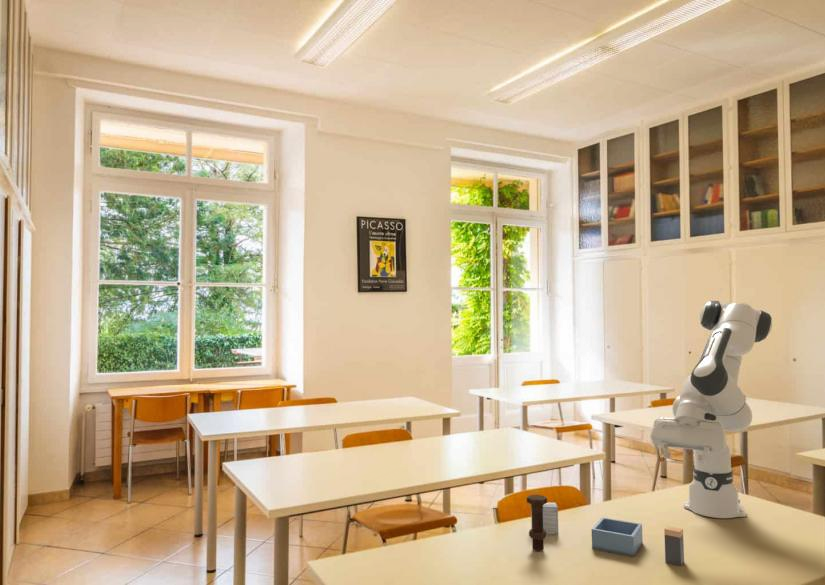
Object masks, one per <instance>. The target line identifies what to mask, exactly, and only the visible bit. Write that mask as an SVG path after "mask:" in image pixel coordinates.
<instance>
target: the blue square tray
mask: <svg viewBox="0 0 825 585" xmlns="http://www.w3.org/2000/svg"><path fill="white" fill-rule="evenodd" d="M643 541H644V540H643V523H638V522H635V521H634V522H633V521H627V520H620V519H615V518H609V517H601V518H600V519H599V520H598V521H597V523H596V524H594V526H593V527H592V528H591V549H592V550H595V549H597V550H596V551H600V550H602V551H601V552H606V551H607V553H612V554H617V555H622V556H627V557H631V558H635V556H636V554H637V553H638V552H639V550H640V548H641V546H642V545H643Z"/></svg>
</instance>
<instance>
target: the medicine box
mask: <svg viewBox="0 0 825 585" xmlns="http://www.w3.org/2000/svg"><path fill="white" fill-rule="evenodd" d="M558 508H559V507H558V505H557V503H556V502H550V501H549V502H548V501H547V503H546V504H544V505H543V529H544V530H545V531H546V533H547V535H552V534H558V535H559V534H560V533H559V509H558ZM530 518H531V520H530V521H531V526H530V527H532V509H531V508H530Z"/></svg>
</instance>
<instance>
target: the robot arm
mask: <svg viewBox="0 0 825 585" xmlns="http://www.w3.org/2000/svg"><path fill="white" fill-rule="evenodd" d="M772 319H773V318H772V316H771V314H770V313H768V312H766V311H765V310H761V309H760V310H759V309H756V308H753V307H752V306H751V305H749V304H748V303H744V302H734V303H728V302H722V301H720V300H709V301H707V302H705V304H704V305H703V306H702V308H701V310H700V313H699V322H700V325H701V326H702V327H703V328H704V329H707V330H709V331H712V332H711V334H710V335H709V337H708V339H707V342H706V344H705V346H704V349H703V351H702V354H701V356H700V358H699V361H698V362H697V364H696V365H695V366H694V368H693V370H691V374H690V375H688V376H687V378H686V379H685V380H684V382H683V385H682V386H681V391H680V394H679V395H678V396H676V398H675V399H674V401H673V403H672V414H673V416H674V418H672V417H669V418H667V417H659V418H656V419H655V420H654V421H653V428H652V430H651V432H650V440H651V442H652V444H653V445H655V446H660V447H662V450H663V453H662V456H663V459H667V460H668V459H669V460H670V459H671V451H670V450H668V448H675V449H677V448H678V449H685V450H692V451H693V458H694V459H693V460H694V467H693V470H692V475H693V481H691V482H690V483H689V485H688V489H689V490H688V501H686V502H685V503H684V504H683V508H684V509H686V510H689V511H691V512H693V513H695V514H698V515H700V516H705V517H707V518H708V517H709V518H714V519H715V518H716V519H732V518H740V517H741V518H742V517H747V513H746V511H745V509H744V507H743V505H742V504H741V499H739V490H738V489H737V487H736V486H735V485H734V474H733V471H732V464H731V463H732V461H731V460H732V459H731V458H732V456H731V449H730V447H729V445H728V444H727V439H726V438H727V437H726V434H725V432H742V431H745V430H747V429H748V428H749V427H750V425H751V424H752V422H753V414H752V413H753V412H752V409H751V408H750V406H749V405H748V403H747V402H746V401H747V400H746V396H745V394H744V393H743V390H742V389H741V388H740V387H739V385H738V382H739V381H738V380H739V374H740V369H741V366H742V365H741V364H742V359H743V356H744V355H746V354H748V353H749V352H751V351H752V350H753V348H754V344H755V343H760V342H761V341H763V340H765V339H767V337H768V336H769V335H770V333H771V331H772V328H773V320H772Z"/></svg>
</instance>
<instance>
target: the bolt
mask: <svg viewBox="0 0 825 585" xmlns="http://www.w3.org/2000/svg"><path fill="white" fill-rule="evenodd" d="M547 502H548V498H547V497H546V496H545V495H542V494H529V495H527V498H526V503H528V504H530V510H531V509H532V526H531V528H530V529H529V531H528V536H529V537H530V538H531V540H532V549H533V550H534V551H536V552H542V551H544V549H545V548H544V545H545V544H544V543H545V541H544V540H545V539H546V537H547V536H548V534H547V533H546V531H545V530H544V529H543V505H544V504H546V503H547Z"/></svg>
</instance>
